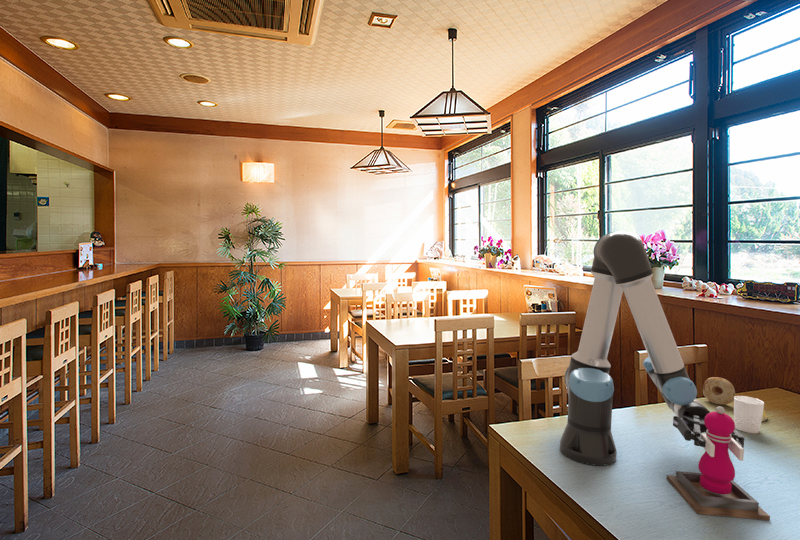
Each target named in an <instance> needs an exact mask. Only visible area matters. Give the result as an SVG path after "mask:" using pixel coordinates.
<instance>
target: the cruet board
mask: <svg viewBox="0 0 800 540" xmlns="http://www.w3.org/2000/svg"><path fill="white" fill-rule="evenodd" d="M675 471H676V472H675V475H672V474H666V480H667V481H668V482H669V483H670V484H671V486H672V487H673V488H674V489H675V491H677V493H679V495H680V496H681V497H682V498H683V500H685V502H686V503H687V504H688V505H689V506H690V507H691V508H692V509H693V511H694V512H695V513H696V514H697V515H705V516H707V515H708V516H715V517H716V516H718V517H726V518H727V517H728V518H729V517H730V518H738V519H739V518H741V519H752V520H764V521H770V520H771V519H770V518H771V516H770V514H768V513H767V512H766V511H765V510H764V509H763V508H761V506H759V504H760V502H758V501H757V500H756V499H755V498H754V497H753V496H752V495H750V493H748V492H747V491H746V490H745V489H744V488H743V487H742V486H740V485H739V484H738V483H737V482H735V481H734V479H733V480H732V481H730V483H731V484H732V489H731V493H730V494H718V493H714V492H711V491H709V490H706V489H705V488H703V487H702V486H701V485H700V476H701V475H702V473H701V472H694V471H693V472H690V471H682V470H681V471H679V470H675Z"/></svg>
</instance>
